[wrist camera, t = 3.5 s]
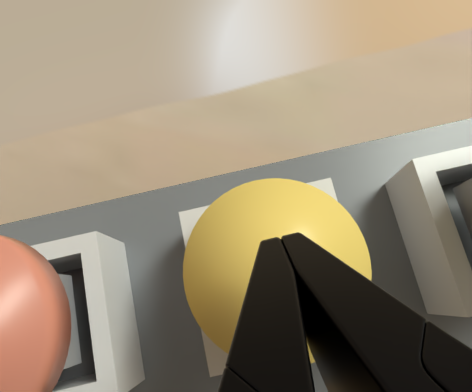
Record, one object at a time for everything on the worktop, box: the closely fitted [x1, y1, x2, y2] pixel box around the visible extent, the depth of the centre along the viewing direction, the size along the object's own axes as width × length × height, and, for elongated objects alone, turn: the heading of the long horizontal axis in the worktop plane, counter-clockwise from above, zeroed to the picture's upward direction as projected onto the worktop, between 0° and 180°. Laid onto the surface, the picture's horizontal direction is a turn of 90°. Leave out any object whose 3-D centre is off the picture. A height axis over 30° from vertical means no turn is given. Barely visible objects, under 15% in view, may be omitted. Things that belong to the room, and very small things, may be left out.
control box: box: [0, 118, 472, 392], centre depth 16 cm, size 9×26×7 cm, turn 103°
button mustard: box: [183, 178, 372, 363], centre depth 13 cm, size 5×5×4 cm
